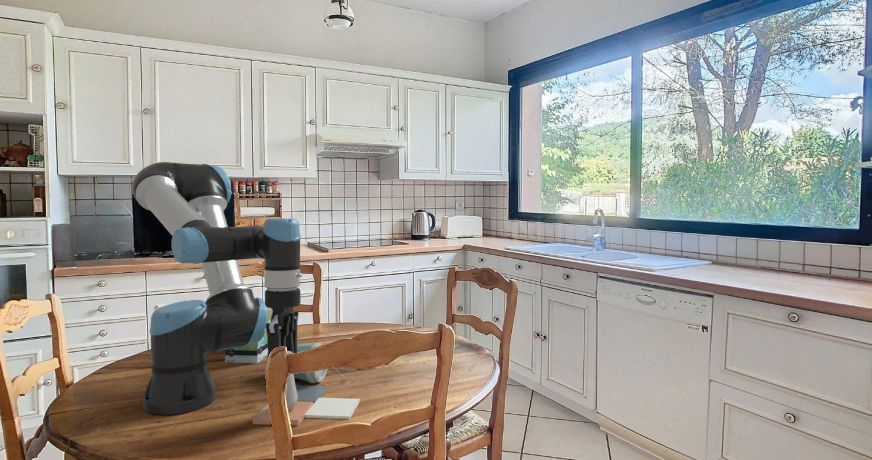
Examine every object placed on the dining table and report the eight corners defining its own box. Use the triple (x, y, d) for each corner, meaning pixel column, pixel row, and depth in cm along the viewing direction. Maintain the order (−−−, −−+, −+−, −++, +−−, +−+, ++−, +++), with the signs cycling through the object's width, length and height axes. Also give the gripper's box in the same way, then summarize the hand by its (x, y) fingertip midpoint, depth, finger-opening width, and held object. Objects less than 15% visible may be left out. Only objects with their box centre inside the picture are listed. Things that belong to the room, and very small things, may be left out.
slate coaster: (274, 404, 118) (274, 399, 118) (290, 389, 128) (290, 384, 128) (315, 406, 117) (315, 401, 117) (328, 390, 127) (328, 386, 127)
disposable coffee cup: (272, 331, 134) (322, 335, 131) (287, 351, 142) (335, 355, 138) (255, 367, 127) (308, 372, 124) (272, 386, 135) (323, 391, 131)
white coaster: (304, 420, 109) (304, 414, 109) (318, 402, 119) (318, 397, 119) (349, 421, 109) (349, 416, 109) (359, 403, 119) (359, 398, 119)
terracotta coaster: (252, 424, 106) (252, 418, 106) (271, 405, 116) (271, 400, 116) (298, 425, 105) (298, 419, 105) (313, 406, 115) (313, 401, 115)
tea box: (258, 367, 144) (258, 317, 143) (224, 367, 144) (223, 317, 143) (276, 352, 159) (275, 307, 158) (244, 352, 159) (244, 306, 158)
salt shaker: (288, 416, 107) (287, 356, 107) (265, 413, 109) (264, 354, 108) (302, 405, 113) (302, 349, 112) (280, 403, 114) (279, 347, 114)
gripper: (285, 295, 101) (286, 408, 102) (311, 282, 117) (312, 380, 118) (249, 294, 101) (251, 407, 102) (280, 282, 118) (281, 379, 119)
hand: (283, 392), depth 110 cm, fingers closed on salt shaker, 3 cm apart
